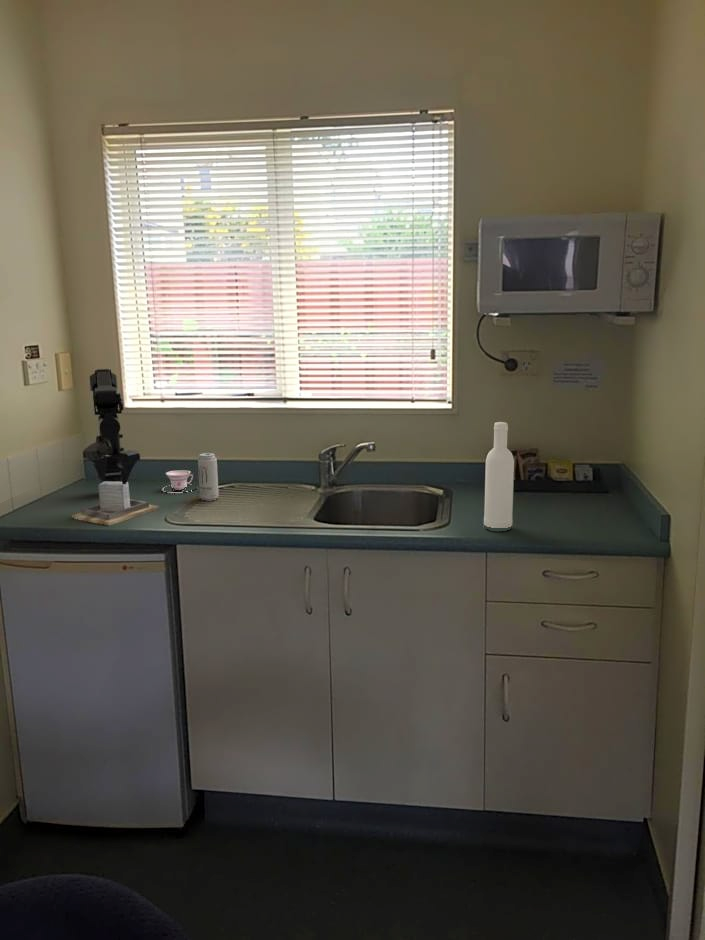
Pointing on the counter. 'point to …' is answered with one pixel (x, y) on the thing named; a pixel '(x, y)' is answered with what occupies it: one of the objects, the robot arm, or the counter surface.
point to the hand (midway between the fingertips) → (113, 482)
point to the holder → (115, 513)
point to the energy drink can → (208, 476)
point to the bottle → (499, 481)
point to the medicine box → (114, 496)
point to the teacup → (178, 479)
